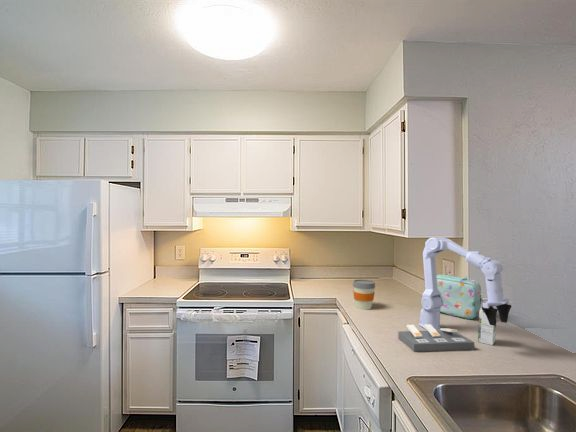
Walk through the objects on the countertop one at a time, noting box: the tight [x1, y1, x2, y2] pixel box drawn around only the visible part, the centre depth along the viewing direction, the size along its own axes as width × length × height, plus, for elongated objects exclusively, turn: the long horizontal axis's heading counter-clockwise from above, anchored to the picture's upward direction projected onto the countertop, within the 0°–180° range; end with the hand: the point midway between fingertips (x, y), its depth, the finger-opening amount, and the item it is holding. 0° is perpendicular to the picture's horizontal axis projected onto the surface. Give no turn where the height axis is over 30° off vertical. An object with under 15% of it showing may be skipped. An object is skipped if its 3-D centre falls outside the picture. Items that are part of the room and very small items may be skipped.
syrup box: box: [477, 307, 497, 346], centre depth 145 cm, size 6×6×14 cm
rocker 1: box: [406, 324, 423, 338], centre depth 144 cm, size 8×3×1 cm, turn 7°
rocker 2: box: [440, 327, 459, 333], centre depth 146 cm, size 8×3×1 cm, turn 7°
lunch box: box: [436, 274, 484, 320], centre depth 184 cm, size 27×10×21 cm, turn 43°
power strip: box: [397, 330, 475, 353], centre depth 142 cm, size 14×26×4 cm, turn 97°
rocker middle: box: [424, 324, 441, 337], centre depth 145 cm, size 8×3×1 cm, turn 7°
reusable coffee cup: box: [352, 279, 376, 311], centre depth 194 cm, size 12×12×15 cm
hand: (498, 323), depth 137 cm, fingers open, 7 cm apart
